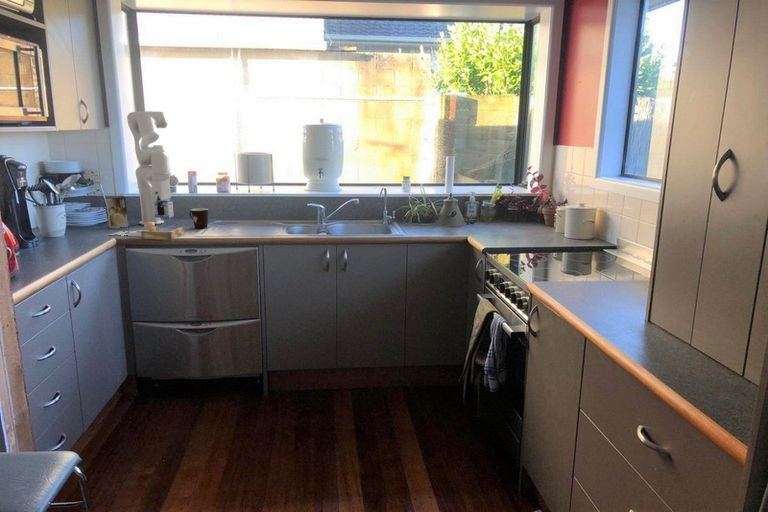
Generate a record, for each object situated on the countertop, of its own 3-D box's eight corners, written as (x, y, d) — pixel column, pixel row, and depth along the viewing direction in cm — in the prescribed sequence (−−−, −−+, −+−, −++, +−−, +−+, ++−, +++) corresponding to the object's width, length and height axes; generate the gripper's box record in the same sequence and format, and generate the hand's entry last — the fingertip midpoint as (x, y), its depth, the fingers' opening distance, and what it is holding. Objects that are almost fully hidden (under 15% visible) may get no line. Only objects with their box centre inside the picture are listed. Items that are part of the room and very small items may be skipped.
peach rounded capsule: (148, 231, 288) (147, 221, 287) (157, 231, 288) (156, 221, 287) (142, 232, 284) (141, 223, 282) (152, 233, 283) (151, 223, 282)
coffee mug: (211, 228, 295) (210, 209, 293) (195, 230, 291) (193, 211, 288) (205, 225, 305) (203, 207, 302) (189, 226, 300) (187, 208, 298)
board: (120, 232, 286) (120, 231, 286) (137, 232, 284) (136, 231, 284) (108, 235, 276) (108, 235, 276) (125, 236, 275) (125, 235, 275)
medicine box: (154, 217, 275) (152, 200, 272) (159, 215, 279) (157, 198, 276) (169, 218, 273) (167, 200, 271) (174, 216, 278) (172, 199, 275)
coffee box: (127, 225, 304) (124, 195, 301) (129, 227, 299) (126, 197, 295) (108, 226, 299) (105, 197, 296) (110, 228, 294) (107, 198, 290)
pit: (136, 233, 281) (136, 230, 280) (149, 234, 280) (149, 230, 280) (128, 236, 274) (128, 233, 274) (142, 237, 273) (141, 233, 273)
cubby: (156, 233, 282) (155, 226, 281) (184, 234, 280) (183, 227, 279) (141, 238, 269) (140, 231, 268) (171, 239, 267) (170, 232, 266)
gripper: (162, 174, 279) (165, 210, 284) (144, 178, 263) (147, 216, 268) (176, 175, 278) (179, 211, 283) (159, 179, 262) (162, 217, 267)
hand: (163, 213), depth 276 cm, fingers closed on medicine box, 4 cm apart
